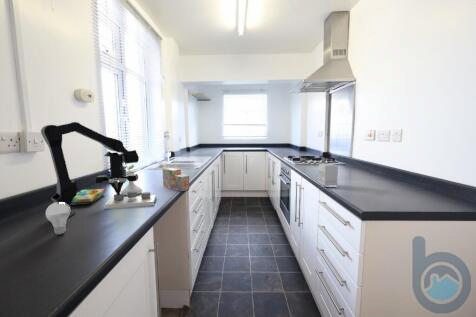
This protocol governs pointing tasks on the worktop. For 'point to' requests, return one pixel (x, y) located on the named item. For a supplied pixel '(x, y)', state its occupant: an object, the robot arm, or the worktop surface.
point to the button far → (145, 195)
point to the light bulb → (58, 216)
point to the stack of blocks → (175, 179)
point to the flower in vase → (130, 183)
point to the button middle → (132, 194)
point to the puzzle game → (87, 196)
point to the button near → (118, 197)
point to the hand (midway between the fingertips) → (118, 194)
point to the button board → (130, 202)
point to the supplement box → (328, 174)
